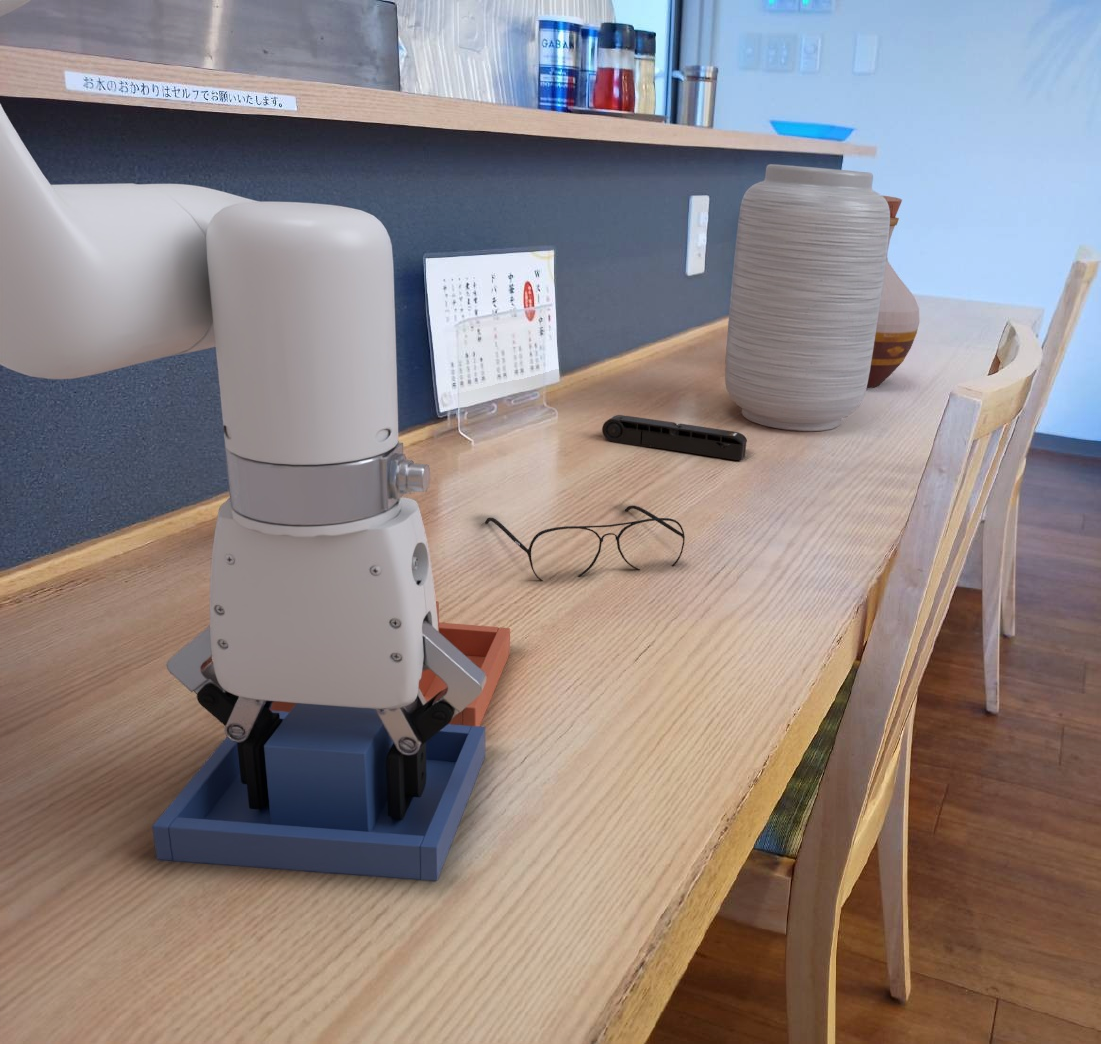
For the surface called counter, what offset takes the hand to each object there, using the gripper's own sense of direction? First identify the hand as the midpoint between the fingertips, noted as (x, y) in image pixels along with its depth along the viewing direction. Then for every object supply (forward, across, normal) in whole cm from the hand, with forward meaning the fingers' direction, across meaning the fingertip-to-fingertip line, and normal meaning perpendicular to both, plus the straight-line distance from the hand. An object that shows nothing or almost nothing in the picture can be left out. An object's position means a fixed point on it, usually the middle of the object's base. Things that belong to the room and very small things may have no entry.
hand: (336, 796), depth 53 cm
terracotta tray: (+1, +1, -12) cm, 13 cm away
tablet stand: (+1, -15, -74) cm, 75 cm away
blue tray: (+1, 0, 0) cm, 1 cm away
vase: (+1, -31, -94) cm, 99 cm away
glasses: (+1, -8, -40) cm, 40 cm away
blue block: (0, 0, 0) cm, 0 cm away
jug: (+1, -44, -122) cm, 130 cm away
